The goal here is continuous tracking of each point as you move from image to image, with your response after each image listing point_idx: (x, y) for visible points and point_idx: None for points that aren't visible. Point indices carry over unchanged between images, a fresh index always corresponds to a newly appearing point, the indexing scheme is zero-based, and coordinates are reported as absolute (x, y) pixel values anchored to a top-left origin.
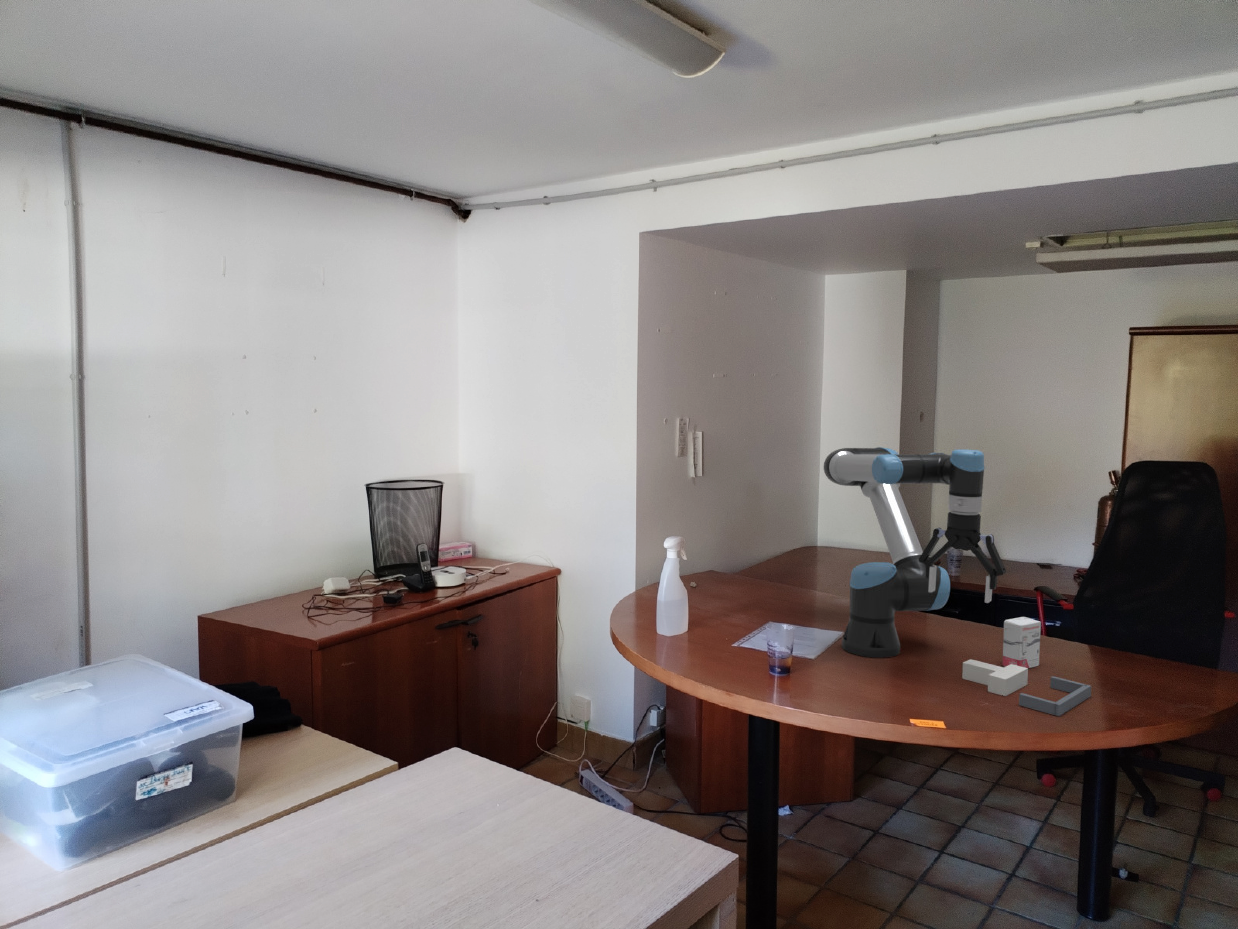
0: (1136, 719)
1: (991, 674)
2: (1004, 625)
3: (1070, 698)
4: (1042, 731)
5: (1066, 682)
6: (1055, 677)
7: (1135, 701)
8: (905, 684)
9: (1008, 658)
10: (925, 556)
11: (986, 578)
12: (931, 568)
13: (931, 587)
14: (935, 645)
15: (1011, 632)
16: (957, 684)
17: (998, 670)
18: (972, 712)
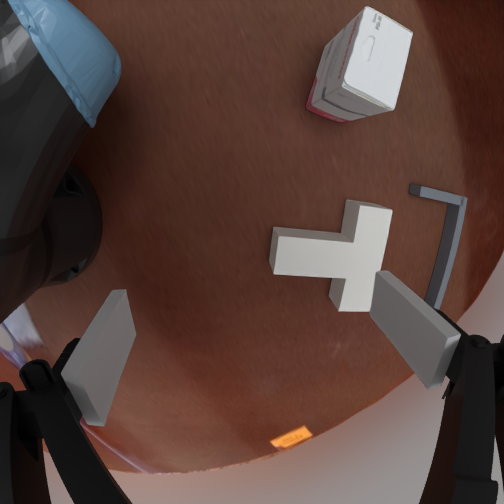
0: (491, 250)
1: (343, 305)
2: (339, 90)
3: (446, 286)
4: (406, 373)
5: (439, 200)
6: (425, 191)
7: (492, 174)
8: (204, 360)
9: (326, 113)
10: (41, 463)
11: (423, 381)
12: (98, 419)
13: (130, 349)
14: (128, 71)
15: (357, 105)
16: (273, 300)
17: (349, 271)
18: (328, 386)
